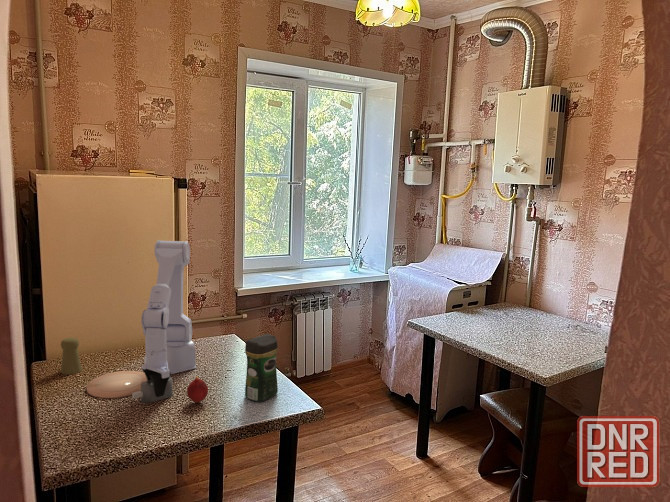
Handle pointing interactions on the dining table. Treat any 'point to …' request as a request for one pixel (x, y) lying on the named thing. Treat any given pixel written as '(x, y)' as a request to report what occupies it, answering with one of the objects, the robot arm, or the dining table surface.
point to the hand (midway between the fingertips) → (157, 392)
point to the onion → (197, 390)
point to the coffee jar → (261, 368)
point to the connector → (152, 392)
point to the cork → (70, 356)
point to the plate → (116, 384)
